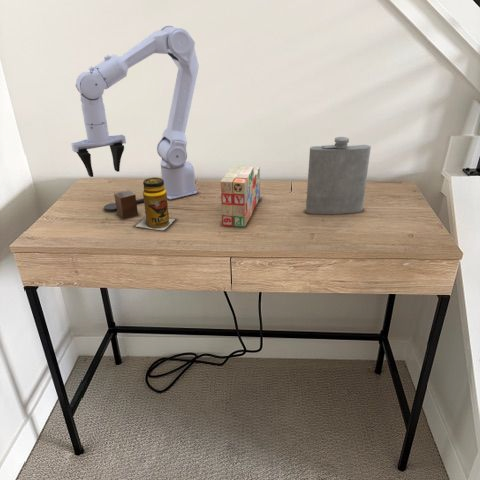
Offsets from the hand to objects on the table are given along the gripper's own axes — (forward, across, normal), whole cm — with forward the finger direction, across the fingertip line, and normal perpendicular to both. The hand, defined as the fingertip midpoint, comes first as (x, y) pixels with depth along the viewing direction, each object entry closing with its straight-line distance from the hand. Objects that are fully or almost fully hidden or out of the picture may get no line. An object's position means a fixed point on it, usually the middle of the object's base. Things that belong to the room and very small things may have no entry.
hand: (104, 173), depth 142 cm
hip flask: (+10, -50, +41) cm, 65 cm away
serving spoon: (+9, -5, +3) cm, 11 cm away
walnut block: (+9, -2, +10) cm, 14 cm away
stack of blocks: (+10, -29, +26) cm, 40 cm away
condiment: (+10, -5, +20) cm, 22 cm away
